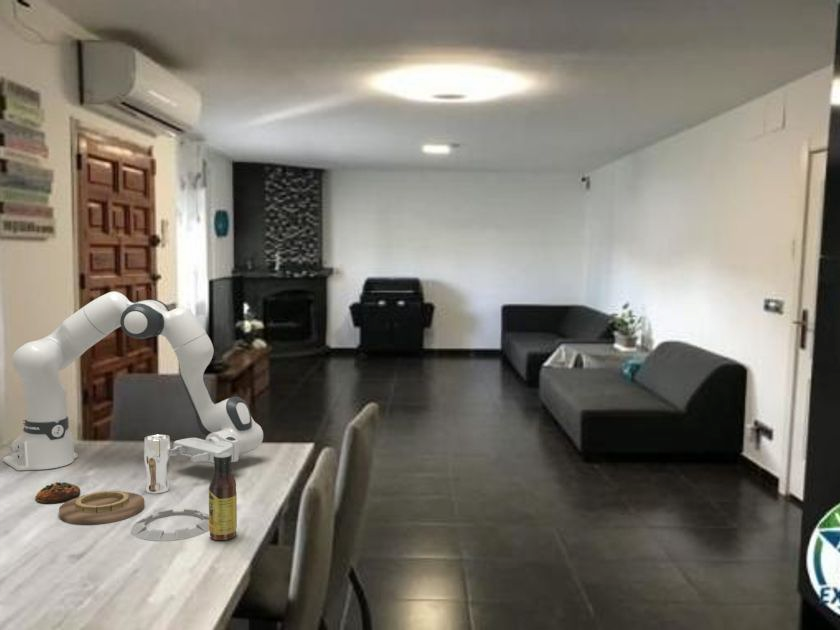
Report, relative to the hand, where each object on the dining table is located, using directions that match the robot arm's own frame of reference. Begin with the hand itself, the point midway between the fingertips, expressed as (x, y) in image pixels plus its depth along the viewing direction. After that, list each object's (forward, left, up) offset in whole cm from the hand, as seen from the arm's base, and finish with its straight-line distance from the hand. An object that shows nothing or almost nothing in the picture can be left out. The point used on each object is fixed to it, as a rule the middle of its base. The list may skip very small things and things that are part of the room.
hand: (181, 456), depth 205 cm
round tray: (+2, -26, -8) cm, 27 cm away
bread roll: (-16, -27, -8) cm, 33 cm away
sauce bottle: (+40, -20, -8) cm, 46 cm away
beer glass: (0, -8, -8) cm, 11 cm away
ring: (+25, -22, -9) cm, 35 cm away
